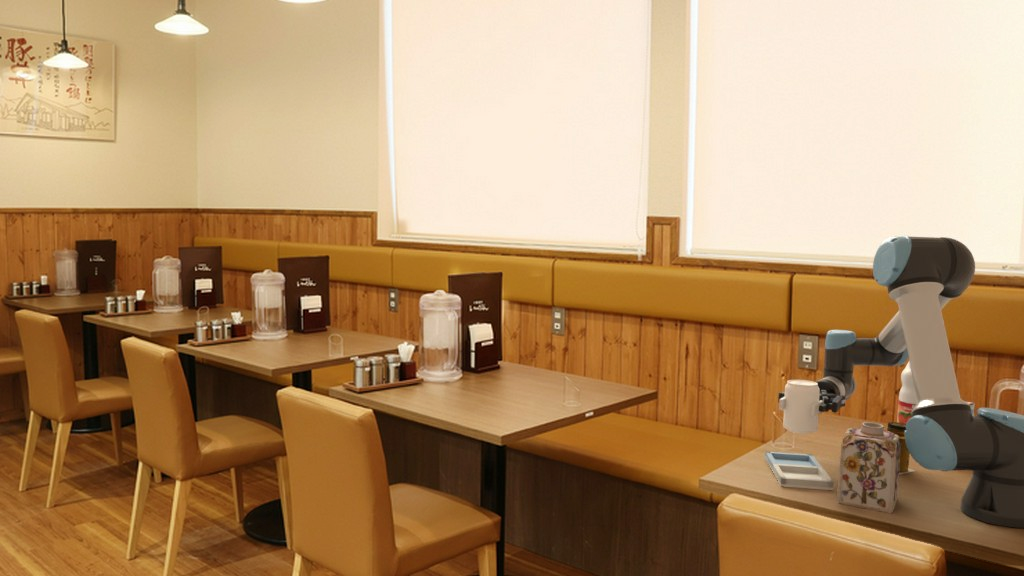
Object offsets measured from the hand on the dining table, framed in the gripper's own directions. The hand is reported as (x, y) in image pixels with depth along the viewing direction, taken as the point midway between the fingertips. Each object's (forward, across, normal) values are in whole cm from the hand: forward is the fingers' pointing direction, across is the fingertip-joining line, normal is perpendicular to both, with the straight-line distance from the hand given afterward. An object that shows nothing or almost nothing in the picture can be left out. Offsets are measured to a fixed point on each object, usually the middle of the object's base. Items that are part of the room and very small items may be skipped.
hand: (796, 407), depth 200 cm
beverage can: (-5, 0, -7) cm, 8 cm away
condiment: (-29, -16, -19) cm, 38 cm away
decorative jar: (+2, -18, -19) cm, 26 cm away
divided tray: (-7, +1, -18) cm, 20 cm away
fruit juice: (-63, -14, -19) cm, 67 cm away
